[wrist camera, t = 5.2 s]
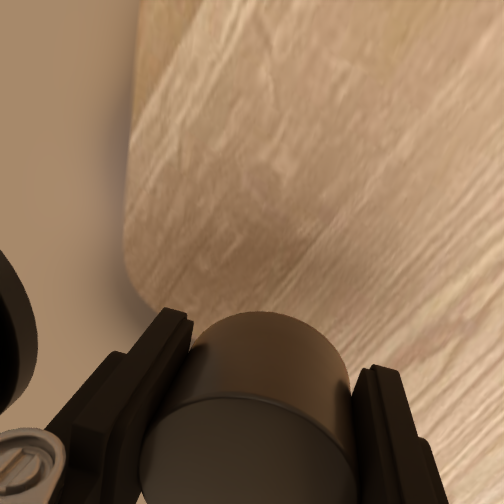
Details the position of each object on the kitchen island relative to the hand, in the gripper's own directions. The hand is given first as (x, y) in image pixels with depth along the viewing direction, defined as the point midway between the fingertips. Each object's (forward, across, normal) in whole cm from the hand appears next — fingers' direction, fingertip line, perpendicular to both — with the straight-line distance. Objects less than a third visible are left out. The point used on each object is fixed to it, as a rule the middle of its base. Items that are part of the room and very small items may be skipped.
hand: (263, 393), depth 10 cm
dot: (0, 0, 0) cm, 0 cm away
